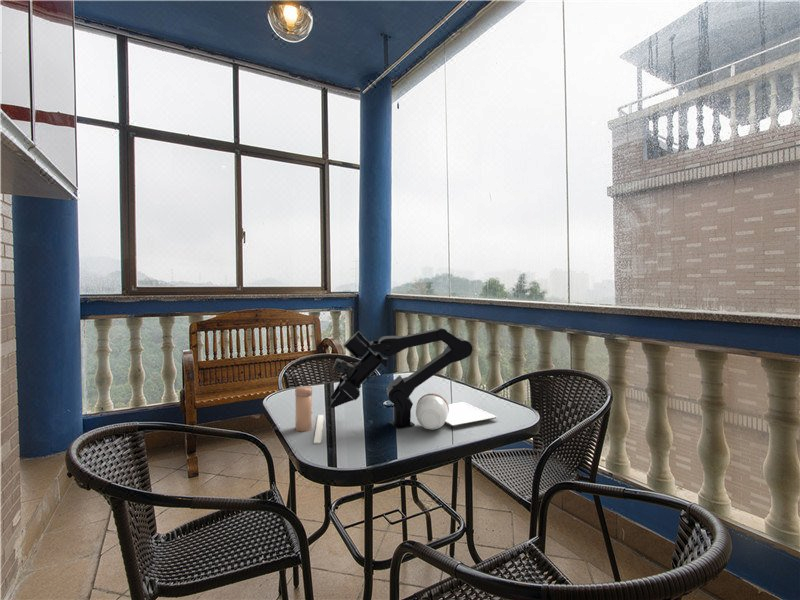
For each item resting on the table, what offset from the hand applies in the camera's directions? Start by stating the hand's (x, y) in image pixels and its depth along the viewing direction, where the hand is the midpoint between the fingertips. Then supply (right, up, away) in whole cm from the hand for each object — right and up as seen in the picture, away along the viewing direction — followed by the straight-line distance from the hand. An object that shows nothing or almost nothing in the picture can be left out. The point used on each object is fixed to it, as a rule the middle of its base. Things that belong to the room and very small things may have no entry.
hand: (331, 402), depth 127 cm
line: (-4, -8, -1) cm, 9 cm away
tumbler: (-9, -8, -1) cm, 12 cm away
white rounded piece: (+31, -4, -4) cm, 32 cm away
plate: (+43, -9, +12) cm, 45 cm away
